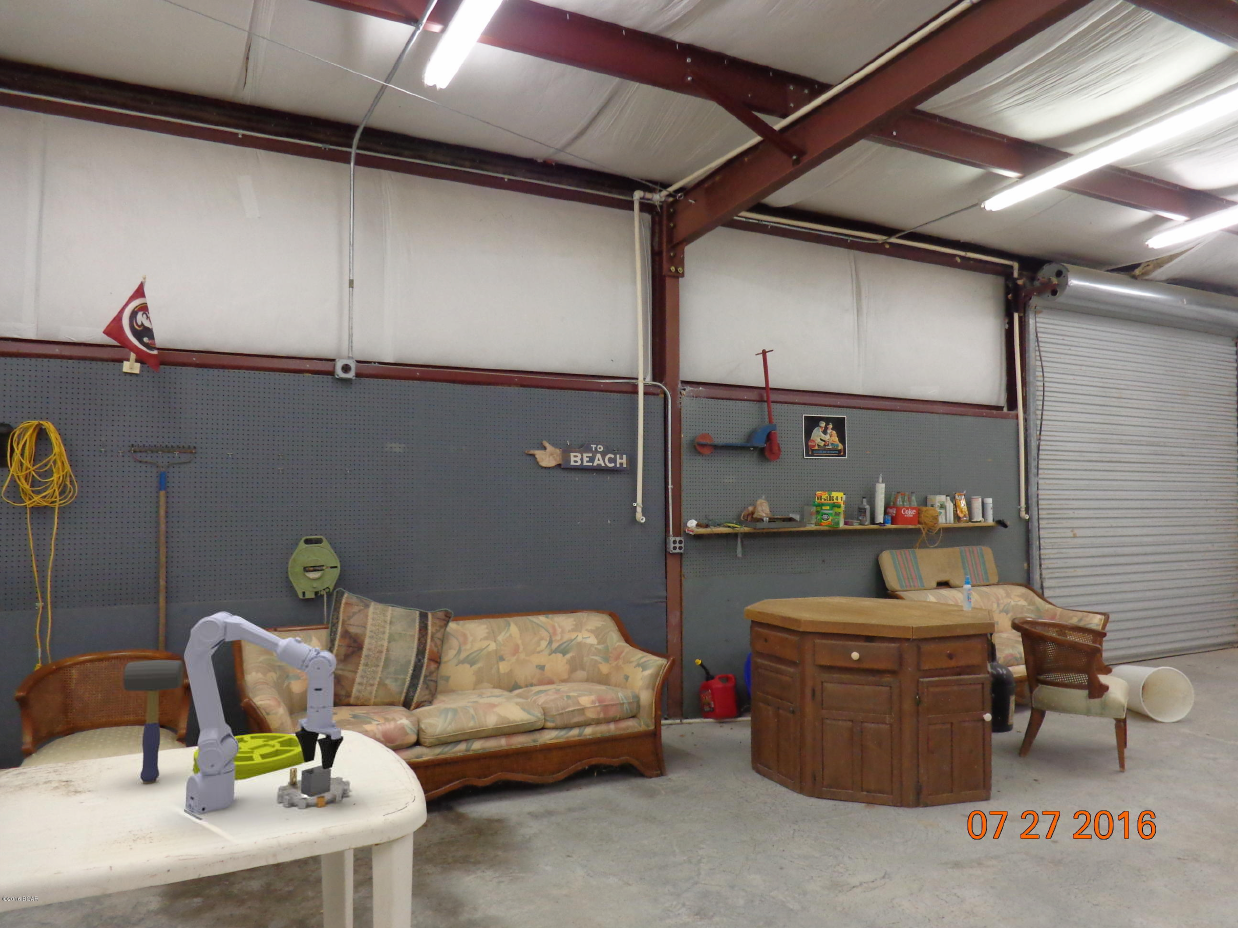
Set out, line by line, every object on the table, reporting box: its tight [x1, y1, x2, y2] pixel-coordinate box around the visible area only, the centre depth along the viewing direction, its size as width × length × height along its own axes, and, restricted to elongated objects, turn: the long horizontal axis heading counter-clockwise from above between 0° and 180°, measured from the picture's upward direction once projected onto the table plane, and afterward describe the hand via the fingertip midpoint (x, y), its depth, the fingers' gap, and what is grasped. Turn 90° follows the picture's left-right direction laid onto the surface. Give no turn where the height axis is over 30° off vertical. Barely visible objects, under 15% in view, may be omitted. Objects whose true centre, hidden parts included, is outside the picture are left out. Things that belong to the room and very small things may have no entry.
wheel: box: [276, 767, 351, 810], centre depth 191 cm, size 16×16×6 cm
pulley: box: [192, 732, 305, 781], centre depth 218 cm, size 28×28×5 cm
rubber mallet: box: [122, 659, 184, 784], centre depth 202 cm, size 12×8×30 cm, turn 107°
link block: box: [300, 764, 332, 797], centre depth 187 cm, size 5×4×5 cm
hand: (318, 764), depth 188 cm, fingers open, 7 cm apart
